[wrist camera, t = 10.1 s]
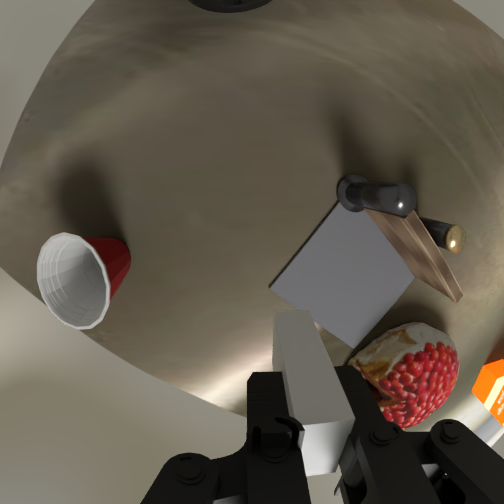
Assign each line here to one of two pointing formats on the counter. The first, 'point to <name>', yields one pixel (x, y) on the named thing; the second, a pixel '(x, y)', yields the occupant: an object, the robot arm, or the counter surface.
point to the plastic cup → (81, 277)
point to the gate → (417, 250)
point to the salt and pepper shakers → (396, 207)
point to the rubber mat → (345, 275)
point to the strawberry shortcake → (409, 371)
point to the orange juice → (492, 389)
